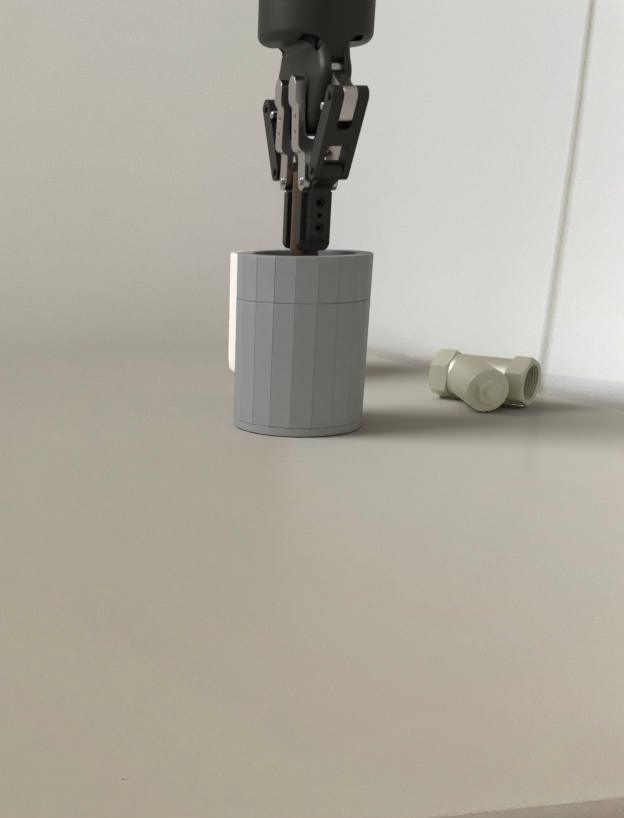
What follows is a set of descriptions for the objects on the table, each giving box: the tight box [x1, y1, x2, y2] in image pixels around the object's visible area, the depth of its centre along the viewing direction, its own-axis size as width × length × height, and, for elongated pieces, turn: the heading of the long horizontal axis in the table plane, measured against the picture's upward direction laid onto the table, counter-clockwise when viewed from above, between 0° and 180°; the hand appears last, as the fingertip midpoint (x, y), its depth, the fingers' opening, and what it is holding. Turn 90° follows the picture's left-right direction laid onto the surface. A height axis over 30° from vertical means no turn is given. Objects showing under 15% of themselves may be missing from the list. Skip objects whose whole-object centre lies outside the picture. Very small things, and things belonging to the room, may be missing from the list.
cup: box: [233, 248, 375, 438], centre depth 78 cm, size 9×9×12 cm
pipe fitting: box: [428, 348, 542, 413], centre depth 85 cm, size 8×4×7 cm
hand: (305, 248), depth 75 cm, fingers closed
